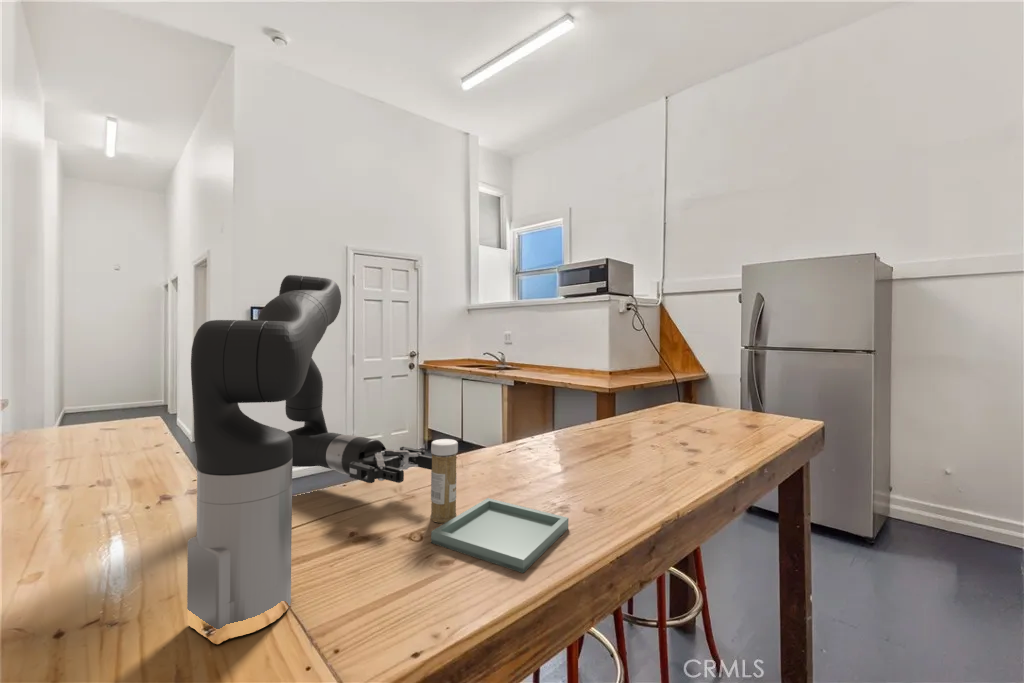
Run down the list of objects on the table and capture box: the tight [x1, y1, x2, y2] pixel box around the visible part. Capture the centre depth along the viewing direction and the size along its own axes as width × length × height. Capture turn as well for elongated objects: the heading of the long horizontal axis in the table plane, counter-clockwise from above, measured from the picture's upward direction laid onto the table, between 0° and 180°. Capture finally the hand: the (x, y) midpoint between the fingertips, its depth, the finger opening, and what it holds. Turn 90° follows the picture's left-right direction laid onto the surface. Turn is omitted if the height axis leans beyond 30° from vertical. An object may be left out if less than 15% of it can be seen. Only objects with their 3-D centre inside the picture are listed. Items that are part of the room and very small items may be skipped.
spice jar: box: [430, 438, 459, 524], centre depth 76 cm, size 5×5×14 cm
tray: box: [430, 497, 569, 574], centre depth 71 cm, size 16×16×2 cm
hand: (419, 469), depth 79 cm, fingers open, 8 cm apart
